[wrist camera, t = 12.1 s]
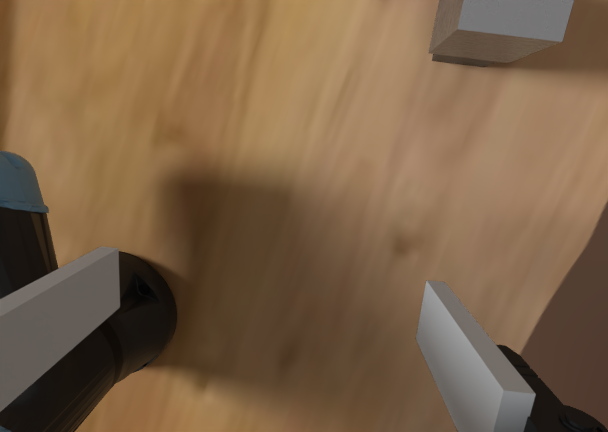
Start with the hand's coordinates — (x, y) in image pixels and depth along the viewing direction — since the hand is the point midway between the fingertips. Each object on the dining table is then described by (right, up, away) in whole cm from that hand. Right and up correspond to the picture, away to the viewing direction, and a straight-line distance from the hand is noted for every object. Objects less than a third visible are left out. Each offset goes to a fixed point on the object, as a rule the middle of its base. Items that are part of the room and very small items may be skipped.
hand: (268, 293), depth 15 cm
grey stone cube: (+17, +21, +16) cm, 31 cm away
